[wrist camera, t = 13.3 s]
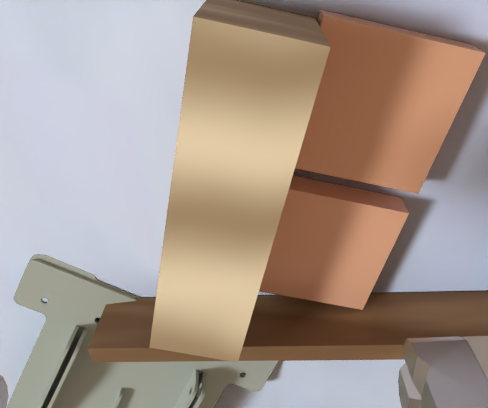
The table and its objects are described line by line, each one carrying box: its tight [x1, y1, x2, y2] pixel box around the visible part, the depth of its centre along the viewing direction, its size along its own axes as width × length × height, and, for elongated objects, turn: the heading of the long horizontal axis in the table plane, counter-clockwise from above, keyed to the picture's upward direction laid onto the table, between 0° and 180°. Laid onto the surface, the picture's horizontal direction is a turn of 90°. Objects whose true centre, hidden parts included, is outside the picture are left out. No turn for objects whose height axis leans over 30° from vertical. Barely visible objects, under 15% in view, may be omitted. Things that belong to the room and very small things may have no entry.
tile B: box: [295, 9, 486, 194], centre depth 18 cm, size 6×6×2 cm
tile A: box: [259, 175, 409, 310], centre depth 22 cm, size 6×6×2 cm
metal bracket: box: [7, 255, 278, 408], centre depth 28 cm, size 14×6×15 cm
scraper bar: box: [149, 0, 330, 362], centre depth 19 cm, size 14×4×5 cm, turn 169°
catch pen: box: [87, 291, 488, 362], centre depth 18 cm, size 22×23×4 cm
